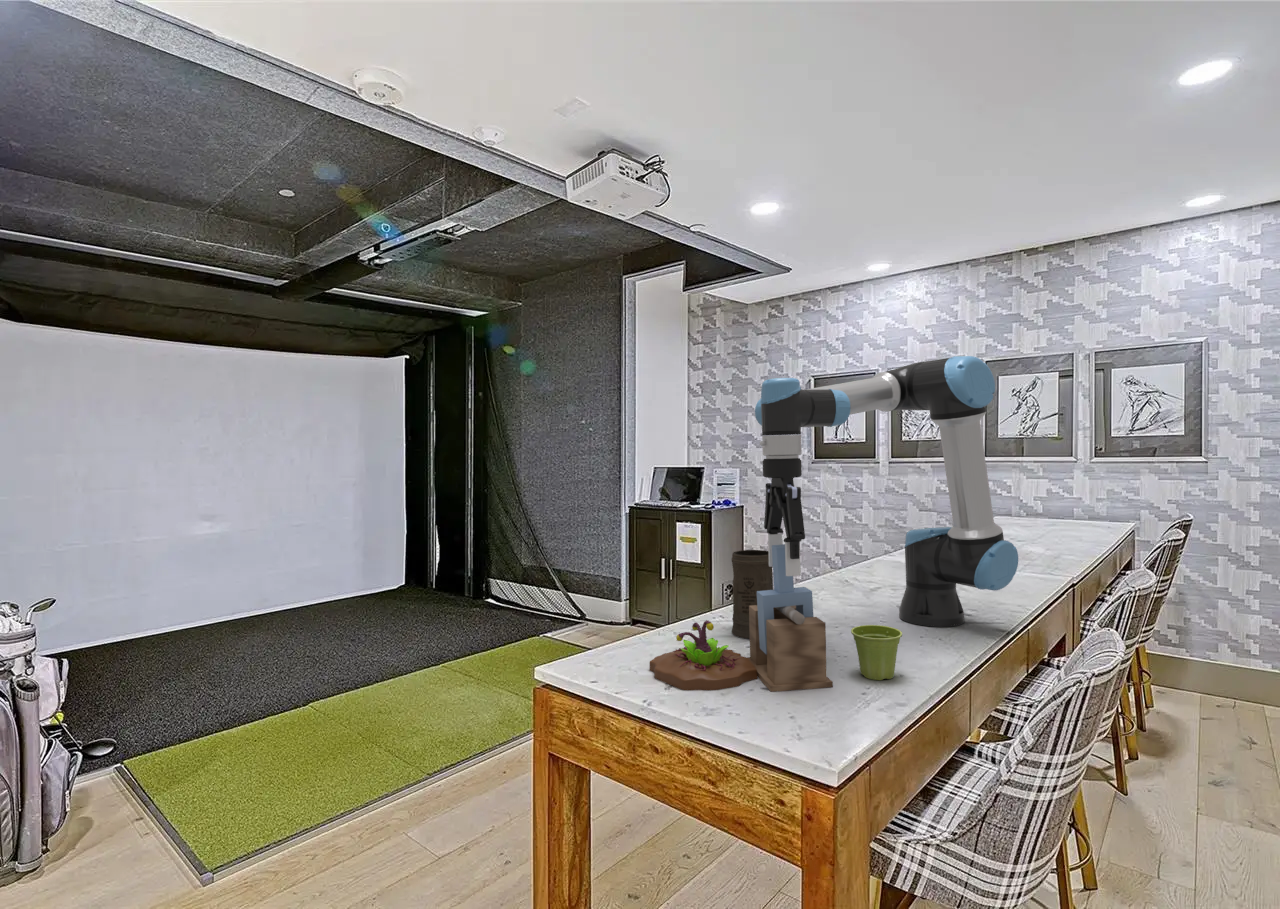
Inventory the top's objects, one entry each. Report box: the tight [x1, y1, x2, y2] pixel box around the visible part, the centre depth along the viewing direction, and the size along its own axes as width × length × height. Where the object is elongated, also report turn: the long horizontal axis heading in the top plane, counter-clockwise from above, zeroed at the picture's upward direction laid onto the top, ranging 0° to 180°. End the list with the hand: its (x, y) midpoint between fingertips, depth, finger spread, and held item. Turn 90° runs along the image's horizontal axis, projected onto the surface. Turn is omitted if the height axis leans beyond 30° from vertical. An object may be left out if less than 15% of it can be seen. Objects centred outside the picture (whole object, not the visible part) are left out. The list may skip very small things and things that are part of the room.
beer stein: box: [731, 549, 774, 640], centre depth 166 cm, size 15×11×20 cm
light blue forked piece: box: [757, 543, 815, 655], centre depth 135 cm, size 10×4×20 cm, turn 98°
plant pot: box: [850, 624, 903, 681], centre depth 133 cm, size 9×9×9 cm
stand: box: [746, 605, 834, 693], centre depth 135 cm, size 12×17×14 cm
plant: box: [649, 619, 758, 691], centre depth 137 cm, size 20×20×11 cm
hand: (784, 570), depth 135 cm, fingers open, 9 cm apart
